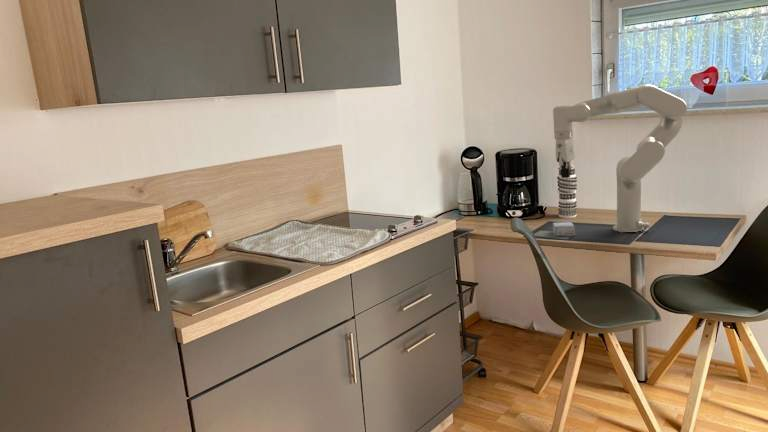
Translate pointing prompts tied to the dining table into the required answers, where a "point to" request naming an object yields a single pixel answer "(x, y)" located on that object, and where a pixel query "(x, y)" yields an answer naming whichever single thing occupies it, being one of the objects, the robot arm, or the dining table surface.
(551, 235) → the mat
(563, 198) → the decorative candle
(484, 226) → the dining table surface
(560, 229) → the medicine box
